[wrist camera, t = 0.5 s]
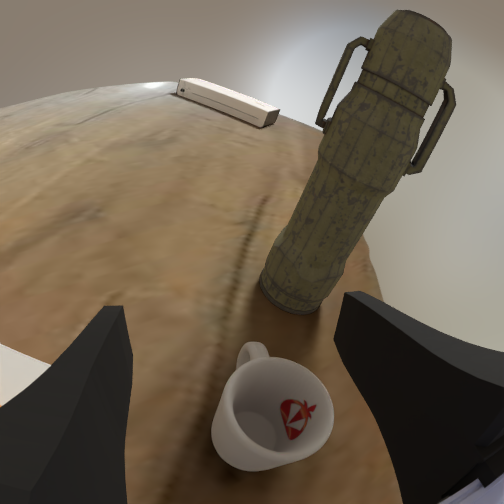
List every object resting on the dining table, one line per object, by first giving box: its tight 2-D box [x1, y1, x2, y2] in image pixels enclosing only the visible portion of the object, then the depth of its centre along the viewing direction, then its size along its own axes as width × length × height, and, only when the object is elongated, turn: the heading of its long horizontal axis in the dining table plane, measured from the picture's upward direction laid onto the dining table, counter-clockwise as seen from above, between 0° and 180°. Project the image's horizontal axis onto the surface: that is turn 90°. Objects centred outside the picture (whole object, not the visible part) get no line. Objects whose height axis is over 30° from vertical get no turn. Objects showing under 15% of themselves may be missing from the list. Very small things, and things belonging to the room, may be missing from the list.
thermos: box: [259, 10, 456, 315], centre depth 31 cm, size 9×12×35 cm
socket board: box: [0, 344, 51, 406], centre depth 13 cm, size 20×14×3 cm
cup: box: [211, 342, 334, 471], centre depth 23 cm, size 11×8×8 cm
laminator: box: [176, 78, 280, 128], centre depth 98 cm, size 34×12×6 cm, turn 66°
